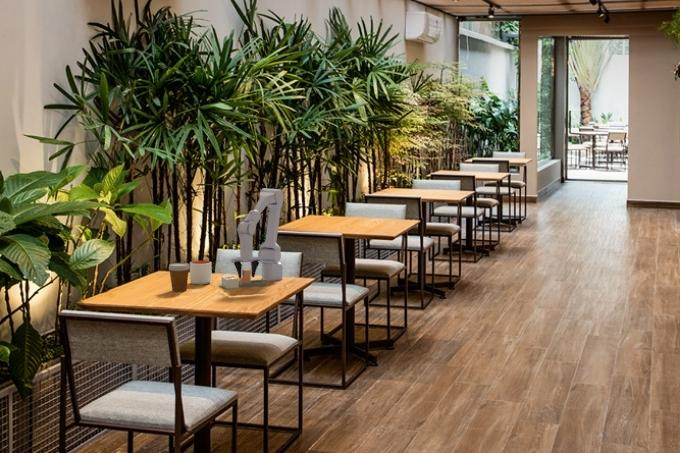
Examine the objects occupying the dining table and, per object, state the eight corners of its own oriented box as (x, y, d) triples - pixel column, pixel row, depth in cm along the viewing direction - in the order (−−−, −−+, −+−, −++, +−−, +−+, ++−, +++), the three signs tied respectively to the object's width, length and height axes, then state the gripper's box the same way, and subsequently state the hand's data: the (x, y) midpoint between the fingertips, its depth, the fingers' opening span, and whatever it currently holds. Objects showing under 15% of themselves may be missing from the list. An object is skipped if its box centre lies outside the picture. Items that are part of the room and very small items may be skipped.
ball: (226, 277, 464) (226, 285, 465) (228, 278, 461) (228, 287, 461) (234, 276, 466) (234, 285, 466) (237, 278, 462) (237, 286, 463)
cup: (213, 281, 481) (213, 260, 480) (208, 285, 471) (208, 264, 470) (192, 281, 482) (192, 260, 481) (187, 284, 472) (187, 263, 471)
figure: (247, 283, 469) (247, 268, 469) (251, 285, 465) (251, 270, 464) (239, 284, 468) (238, 269, 467) (242, 286, 463) (242, 270, 462)
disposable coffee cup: (185, 293, 452) (185, 266, 450) (165, 292, 454) (165, 265, 452) (193, 289, 461) (192, 263, 460) (173, 288, 463) (172, 262, 462)
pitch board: (259, 282, 479) (259, 272, 478) (269, 288, 466) (269, 277, 465) (216, 285, 470) (216, 275, 470) (225, 291, 458) (225, 280, 457)
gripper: (233, 250, 458) (233, 279, 460) (264, 248, 464) (264, 277, 465) (229, 248, 464) (229, 277, 466) (259, 246, 470) (259, 275, 472)
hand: (246, 277), depth 466 cm, fingers open, 6 cm apart
